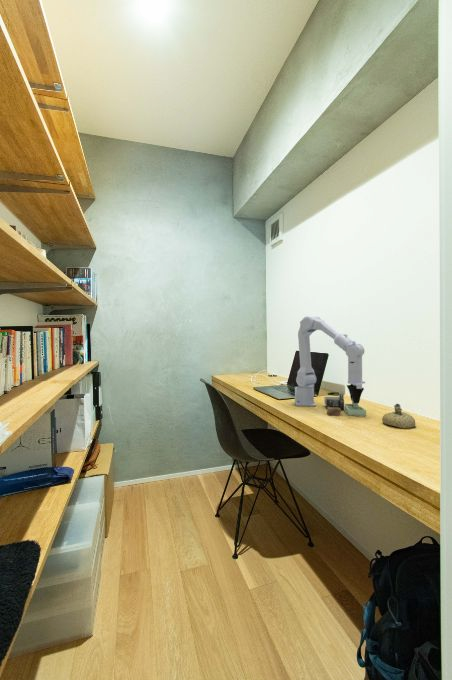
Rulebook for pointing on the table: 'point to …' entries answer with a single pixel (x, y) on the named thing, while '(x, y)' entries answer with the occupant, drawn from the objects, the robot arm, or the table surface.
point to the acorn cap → (399, 418)
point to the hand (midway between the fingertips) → (355, 402)
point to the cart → (335, 401)
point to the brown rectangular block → (333, 411)
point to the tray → (355, 411)
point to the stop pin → (354, 404)
